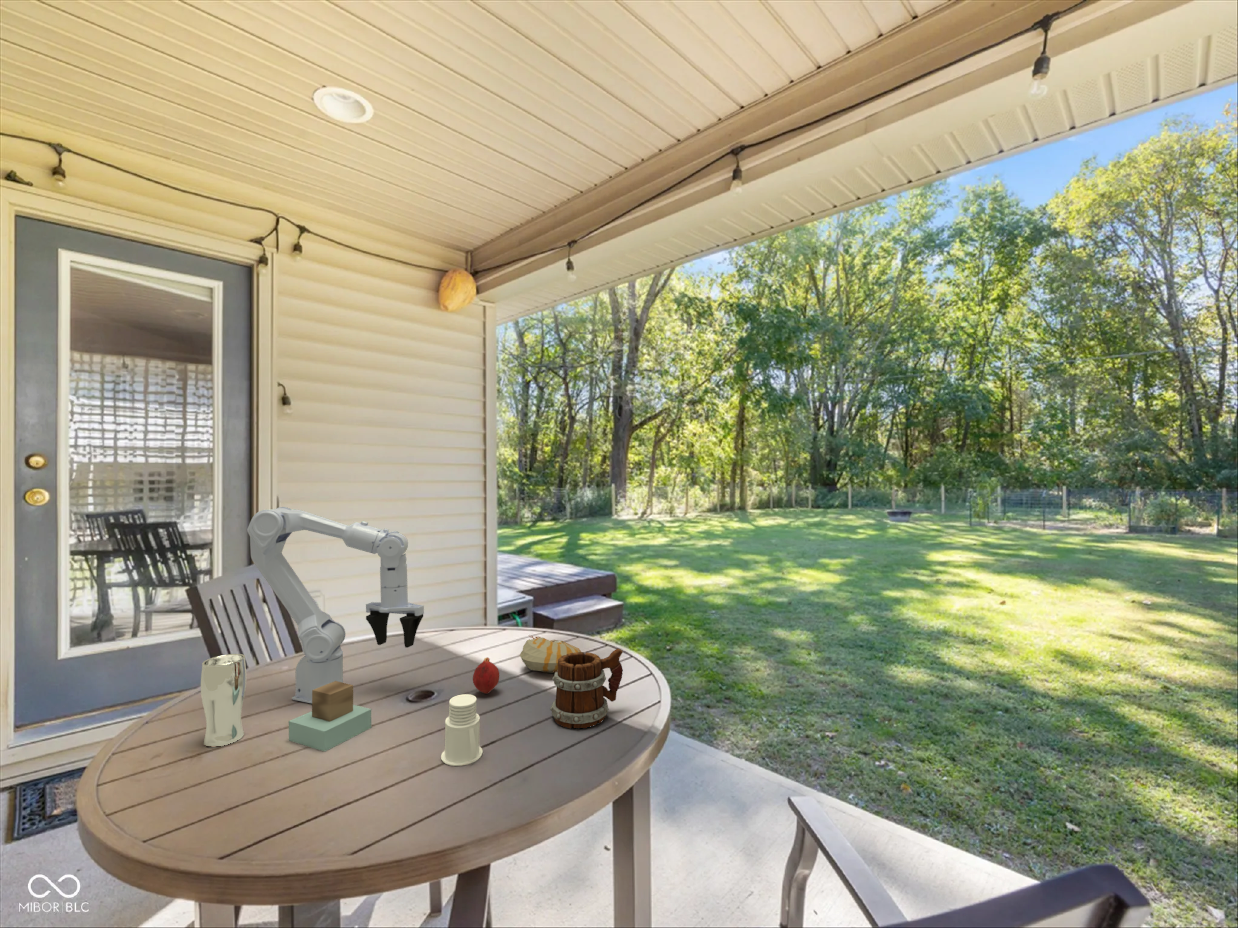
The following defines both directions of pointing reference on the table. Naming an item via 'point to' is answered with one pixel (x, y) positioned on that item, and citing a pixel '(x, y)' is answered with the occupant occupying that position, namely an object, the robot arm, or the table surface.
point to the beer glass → (223, 698)
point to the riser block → (329, 728)
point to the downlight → (462, 732)
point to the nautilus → (545, 653)
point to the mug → (584, 688)
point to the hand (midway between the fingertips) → (395, 644)
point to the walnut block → (332, 701)
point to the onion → (486, 676)
